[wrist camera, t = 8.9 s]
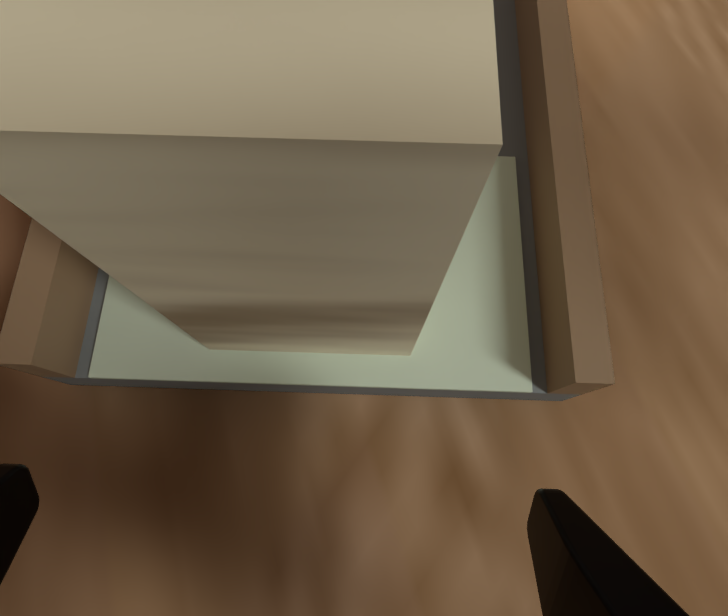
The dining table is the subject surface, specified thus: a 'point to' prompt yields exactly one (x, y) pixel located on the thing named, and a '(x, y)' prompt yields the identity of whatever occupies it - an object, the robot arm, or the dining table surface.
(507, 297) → the trough deck
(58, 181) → the maple block
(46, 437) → the dining table surface
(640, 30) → the dining table surface
